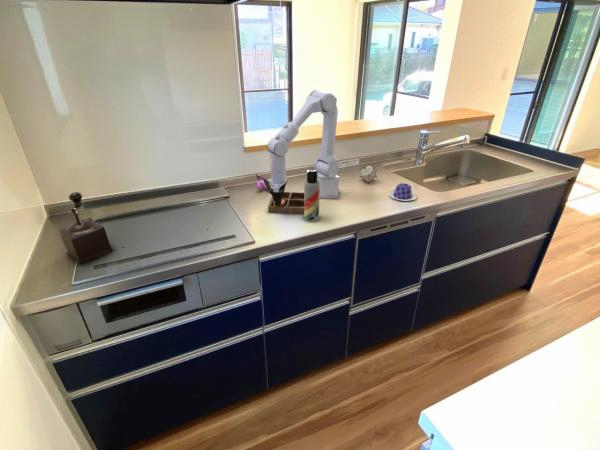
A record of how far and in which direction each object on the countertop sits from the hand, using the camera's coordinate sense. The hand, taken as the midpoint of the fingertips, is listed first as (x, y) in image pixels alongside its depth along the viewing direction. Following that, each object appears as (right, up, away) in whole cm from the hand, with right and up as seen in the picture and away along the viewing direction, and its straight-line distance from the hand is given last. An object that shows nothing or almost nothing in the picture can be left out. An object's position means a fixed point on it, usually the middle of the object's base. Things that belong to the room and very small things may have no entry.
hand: (279, 201), depth 141 cm
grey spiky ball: (+41, +11, +27) cm, 51 cm away
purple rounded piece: (-9, +6, +18) cm, 21 cm away
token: (0, -2, +1) cm, 3 cm away
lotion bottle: (+13, -7, -5) cm, 16 cm away
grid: (+4, -1, +5) cm, 6 cm away
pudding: (+54, +3, +12) cm, 55 cm away
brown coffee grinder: (-63, -18, -24) cm, 70 cm away
